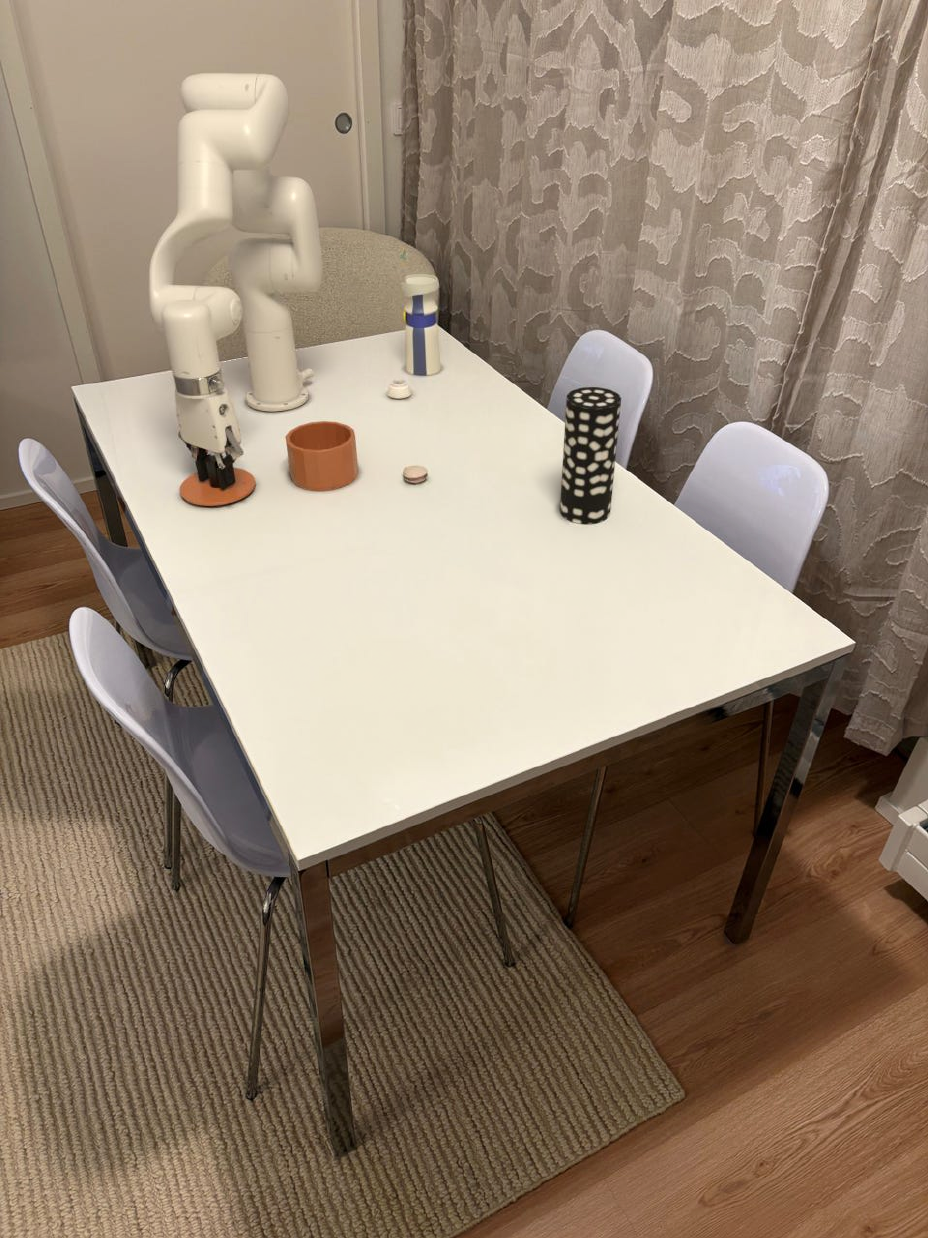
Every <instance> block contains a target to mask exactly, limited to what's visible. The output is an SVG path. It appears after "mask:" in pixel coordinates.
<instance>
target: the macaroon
mask: <svg viewBox="0 0 928 1238" xmlns="http://www.w3.org/2000/svg"><path fill="white" fill-rule="evenodd" d="M428 472H429V471H428V469H427V467H425V466H422V465H410V466H406V467H404V468H403V472H402V473H403V477H404V479H405V480H406V481H407V482H409V483H411V484H412V483H413V484H418V483H422V482H423V481H425V480H427V478H428V476H429V475H428Z"/></svg>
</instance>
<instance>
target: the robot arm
mask: <svg viewBox="0 0 928 1238" xmlns="http://www.w3.org/2000/svg"><path fill="white" fill-rule="evenodd" d="M180 96H181V102H182V106H183V108H184V110H185V112H186V114H184V115H183V116H182V117H181V118H180V119H179V122H178V126H177V134H176V135H177V140H176V141H177V142H176V143H177V144H176V145H177V146H176V147H177V149H176V151H177V153H176V155H177V156H176V157H177V162H176V163H177V165H176V167H177V193H176V194H177V210H176V216H175V218H174V219H173V220H172V222H171V223H170V224H169V225H168V226H167V228H166V229H165V230H164V232H163V233H162V235H161V236H160V238H159V240H158V241H157V243H156V245H155V247H154V250H153V253H152V255H151V257H150V262H149V267H148V303H149V312H150V316H151V319H152V322H153V324H154V325H155V327H156V328H157V329H158V330H160V331H161V332H163V334H164V339H165V344H166V347H167V354H168V357H169V362H170V368H171V373H172V378H173V383H174V387H175V388H174V402H175V413H176V420H177V424H178V430H179V431H178V434H177V437H178V438H179V439H180V440H181V442H183V444H185V446H186V448H187V449H188V450H189V452H190V456H191V459H192V460H193V461H194V462H195V467H196V473H198V478H199V481H201V482H204V481H206V480H207V479H209V478H208V473H207V468H206V463H205V458H206V457H208V456H211V455H212V454H210V453H209V451H210V452H213V455H215V457H216V460H217V463H218V466H219V467H218V468H217V475H218V480H219V486H220V488H221V489H223V490H224V489H226V488H228V487H229V486H231V485H233V484H234V483H235V482H236V480H235V475H234V469H233V468H234V465H233V464H235V463H236V460H237V459H239V458H241V456H243V455H244V454H245V453H244V450H243V448H242V447H241V443H242V438H241V432H240V431H241V430H240V427H239V421H238V418H237V415H236V410H235V406H234V404H233V401H232V398H231V396H230V393H229V390H228V389H227V388H225V382H224V380H223V373H222V368H221V363H220V357H219V350H218V345H217V342H218V341H219V340H222V339H223V338H226V337H228V336H229V335H231V334H233V333H234V332H235V331H236V330H237V329H238V328H239V326H240V324H241V322H242V328H243V336H244V342H245V348H246V357H247V362H248V369H249V375H250V381H251V387H252V388H251V389H250V390H249V391H248V392H247V393H246V396H245V401H246V404H247V405H248V406H249V408H252V409H254V410H257V411H261V412H268V413H269V412H271V413H274V412H285V411H290V410H293V409H297V408H298V407H301V406H302V405H304V404H306V402H307V401H308V399H309V391H308V389H307V388H306V387H305V386H304V385H303V384H304V383H305V382H306V381H307V380H309V379H311V378H313V377H314V376H315V372H314V370H313V369H312V368H310V367H308V368H306V369H303V370H302V371H300V370H299V369H298V360H297V351H296V344H295V336H294V327H293V318H292V313H291V310H290V307H289V305H288V304H287V302H286V301H285V299H284V298H283V297H282V295H281V294H310V293H311V294H312V293H314V292H316V291H318V290H319V289H320V287H321V286H322V284H323V279H324V261H323V253H322V244H321V236H320V229H319V219H318V210H317V204H316V199H315V195H314V192H313V189H312V188H311V186H310V184H309V183H308V182H307V181H306V180H305V179H303V178H301V177H298V176H288V175H287V176H286V175H285V176H284V175H283V176H279V175H275V176H274V175H273V174H272V173H271V171H270V167H269V166H270V164H271V162H272V161H273V159H274V156H275V155H276V152H277V149H278V147H279V144H280V141H281V140H282V136H283V134H284V132H285V129H286V126H287V124H288V119H289V113H290V101H289V100H290V99H289V94H288V91H287V88H286V85H285V84H284V82H283V81H282V80H281V79H280V78H279V77H278V76H276V75H274V74H268V73H234V72H233V73H232V72H203V73H196V74H192V75H189V76H187V77H186V78H184V79H183V81H182V82H181V85H180ZM231 225H232V227H233V228H234V229H235V230H237V231H239V232H241V233H247V234H269V235H271V234H274V235H276V234H277V235H287V236H289V238H275V237H248V238H242V239H240V240H237V241H235V242H234V243H233V244H232V245H231V246H230V248H229V250H228V252H227V253H228V254H227V266H228V271H229V275H230V277H231V280H232V283H233V286H234V289H235V291H234V290H233V289H231V288H228V287H225V286H214V285H212V286H210V285H189V284H188V285H187V284H186V285H183V284H175V273H176V270H177V265H178V263H179V262H180V260H181V259H182V257H183V256H184V255H185V253H186V252H188V251H189V249H191V248H192V247H193V246H195V245H196V244H199V243H200V242H202V241H203V240H205V239H208V238H209V237H211V236H214V235H216V234H218V233H220V232H223V231H224V230H226V229H228V228H229V227H230V226H231ZM280 293H281V294H280ZM223 453H224V454H225V456H223Z"/></svg>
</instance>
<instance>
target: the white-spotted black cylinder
mask: <svg viewBox="0 0 928 1238" xmlns="http://www.w3.org/2000/svg"><path fill="white" fill-rule="evenodd" d="M621 405H622V397H621V395H620V394H619V393H618V392H616V391H614V390H612V389H610V388H605V387H601V386H600V387H599V386H585V387H579V388H575V389H573V390H571V391H569V392H568V393H567V395H566V402H565V415H564V416H565V419H564V432H563V433H564V434H563V435H564V436H563V451H562V467H561V468H562V470H561V482H560V483H561V486H560V500H559V513H560V515H561V517H563V518H564V519H565V520H567V521H569V522H572V523H575V524H579V525H594V524H599V523H602V522H604V521H606V520H607V519H608V518H609V517H610V515H611V509H612V498H613V488H614V478H615V477H614V476H615V468H616V458H617V457H616V456H617V447H618V437H619V427H620V426H619V425H620V418H621V417H620V415H621V407H622V406H621Z"/></svg>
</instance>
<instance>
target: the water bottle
mask: <svg viewBox="0 0 928 1238" xmlns="http://www.w3.org/2000/svg"><path fill="white" fill-rule="evenodd" d="M408 253H409V251H406V249H405V247H402V252H401V253H400V254H399V255H398V257H399V258H400V265H403V263H407V255H408ZM404 280H405V282H404V281H402V282H401V283H400V291H401V294H402V297H403V298H406V303H405V305H404V309H403V311H402V312H403V313H402V322H403V325H404V326H405V329H404V334H405V335H404V336H405V337H404V338H405V371H406V372H407V373H408V374H410V375H413V376H419V377H421V376H431V375H435V374H437V373H439V372H440V371H441V370H442V365H441V355H440V353H441V351H440V335H439V326H438V323H437V311H438V307H439V306H438V305H437V304H436V301H435V293H436V292H435V291H438V290H439V288H440V282H439V279H438V277H437V276H435V275H433V274H428V273H427V274H426V273H415V274H408V275H406V276H405V277H404Z"/></svg>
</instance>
